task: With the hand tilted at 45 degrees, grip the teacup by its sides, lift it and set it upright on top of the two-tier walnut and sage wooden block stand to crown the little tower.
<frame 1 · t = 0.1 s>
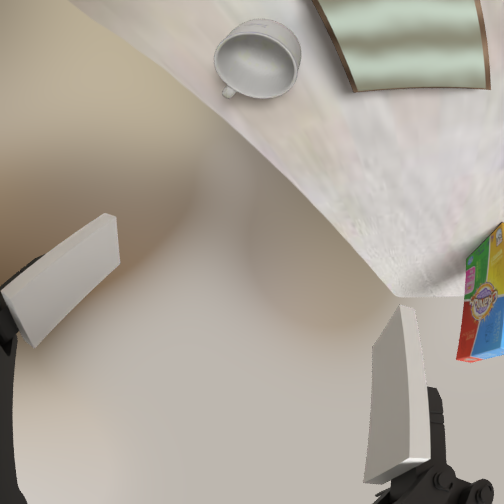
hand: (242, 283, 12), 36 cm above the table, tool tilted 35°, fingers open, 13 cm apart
teacup: (263, 47, 36), on the table
game box: (490, 244, 54), on the table
block stand: (406, 20, 24), on the table
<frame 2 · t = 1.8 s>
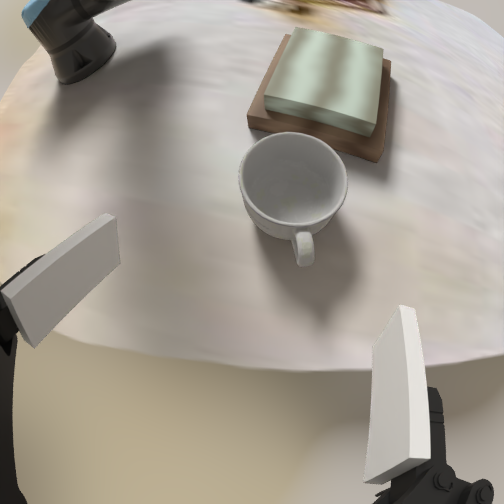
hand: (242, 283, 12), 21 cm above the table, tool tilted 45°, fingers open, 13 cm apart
teacup: (290, 217, 35), on the table
block stand: (326, 93, 39), on the table
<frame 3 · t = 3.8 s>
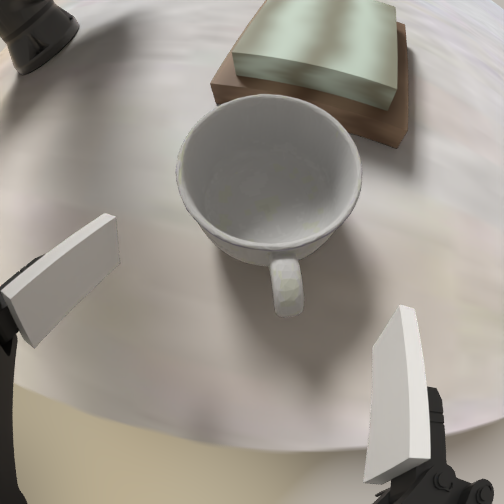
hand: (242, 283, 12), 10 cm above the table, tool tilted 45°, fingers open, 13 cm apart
teacup: (271, 228, 24), on the table
block stand: (324, 59, 27), on the table
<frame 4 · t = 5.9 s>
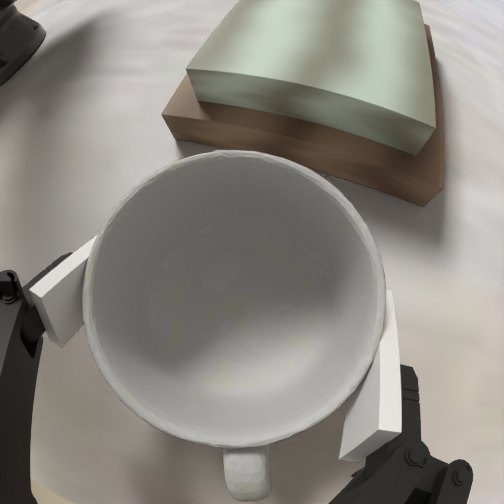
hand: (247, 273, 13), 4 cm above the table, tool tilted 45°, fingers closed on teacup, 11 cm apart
teacup: (245, 333, 17), on the table, touching gripper
block stand: (325, 71, 21), on the table
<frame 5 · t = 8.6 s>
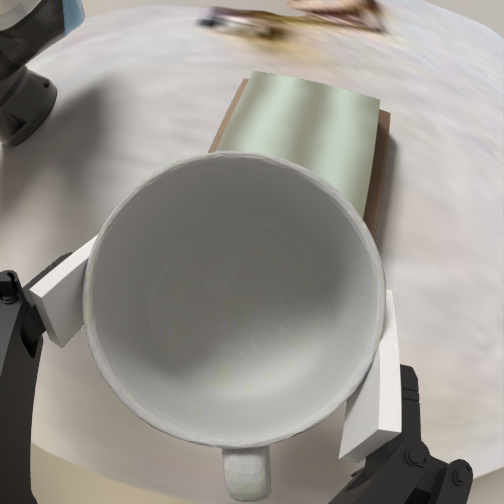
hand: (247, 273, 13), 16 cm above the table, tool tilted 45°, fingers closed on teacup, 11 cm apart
teacup: (245, 334, 17), point 12 cm above the table, touching gripper
block stand: (295, 172, 31), on the table
when the fingers open (12 cm above the table, at t = 11.4 s): teacup drops 1 cm, resting on block stand.
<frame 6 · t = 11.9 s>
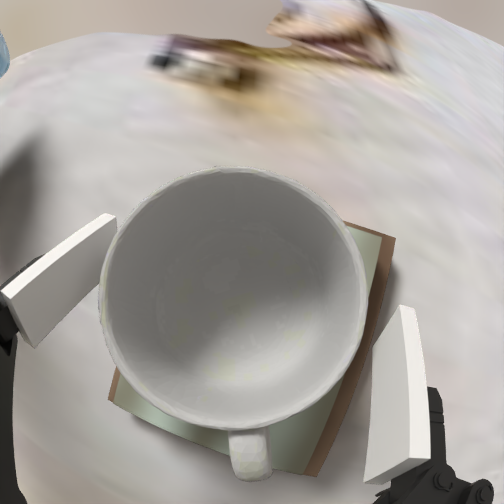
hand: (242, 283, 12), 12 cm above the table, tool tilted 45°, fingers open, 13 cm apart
teacup: (245, 330, 18), point 6 cm above the table, touching block stand
block stand: (250, 329, 24), on the table
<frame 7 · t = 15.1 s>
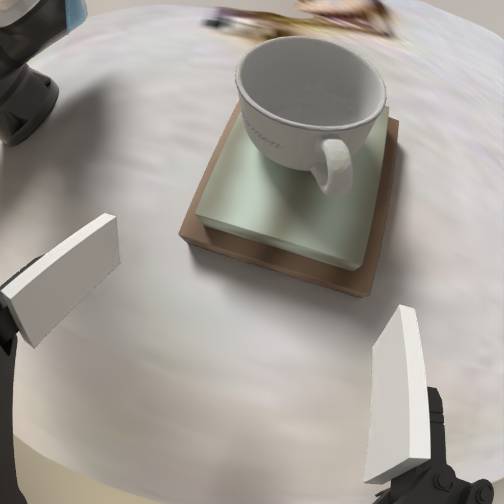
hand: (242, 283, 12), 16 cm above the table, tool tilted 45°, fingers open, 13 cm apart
teacup: (306, 150, 25), point 6 cm above the table, touching block stand
block stand: (301, 180, 31), on the table
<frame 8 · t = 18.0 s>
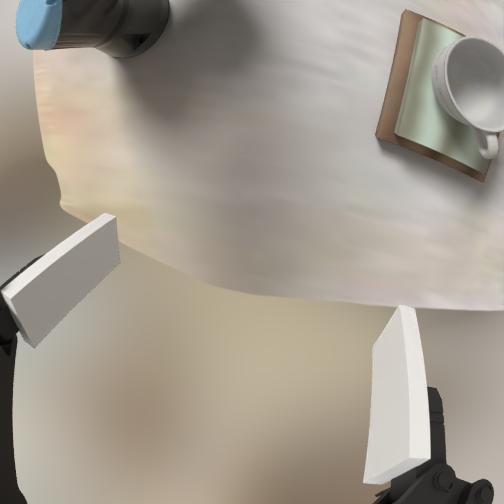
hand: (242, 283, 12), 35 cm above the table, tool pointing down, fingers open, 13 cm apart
teacup: (461, 95, 26), point 6 cm above the table, touching block stand
block stand: (446, 95, 31), on the table
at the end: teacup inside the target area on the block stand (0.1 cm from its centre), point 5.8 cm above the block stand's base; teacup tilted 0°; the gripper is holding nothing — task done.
